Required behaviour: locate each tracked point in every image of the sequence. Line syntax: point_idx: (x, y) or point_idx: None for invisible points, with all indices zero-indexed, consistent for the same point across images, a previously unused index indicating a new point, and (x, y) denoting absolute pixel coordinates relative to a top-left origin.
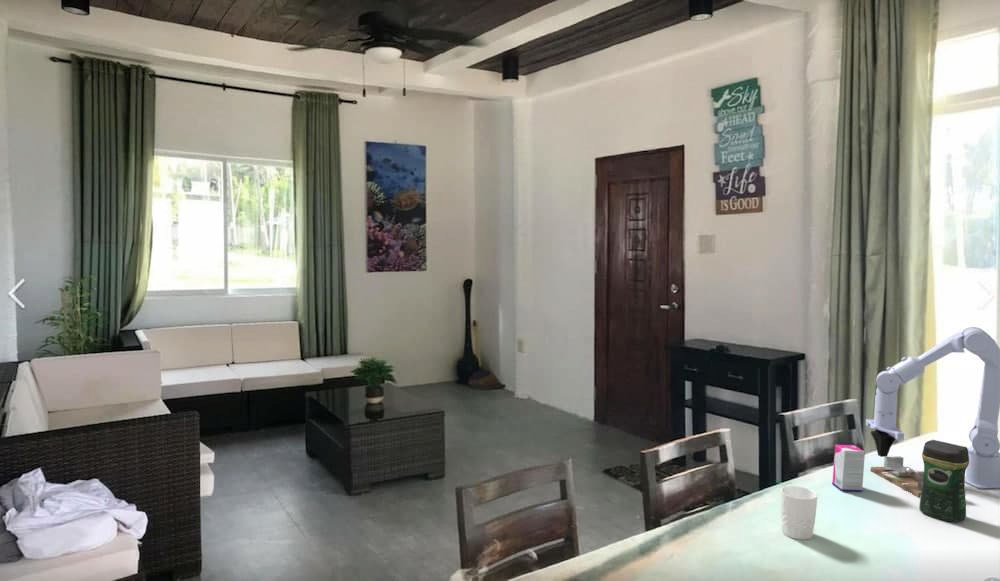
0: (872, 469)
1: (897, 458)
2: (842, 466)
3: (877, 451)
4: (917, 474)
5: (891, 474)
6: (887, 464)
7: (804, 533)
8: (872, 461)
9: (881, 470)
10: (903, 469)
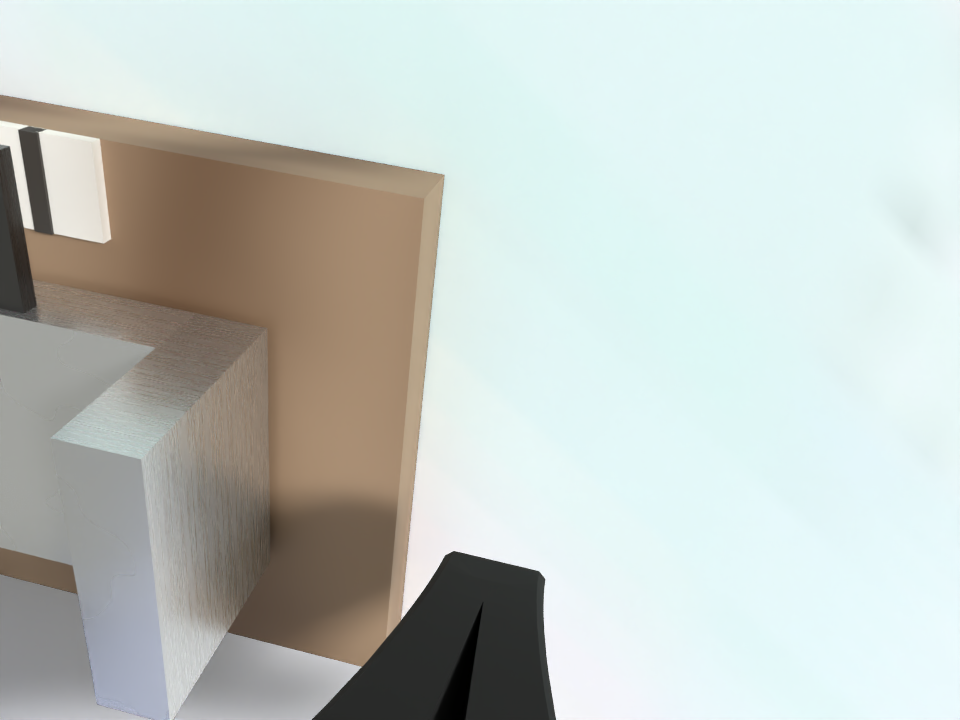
0: (380, 179)
1: (90, 613)
2: None
3: (524, 619)
4: (67, 577)
5: (41, 249)
6: (140, 377)
7: None
8: (839, 572)
9: (229, 243)
10: (11, 470)
